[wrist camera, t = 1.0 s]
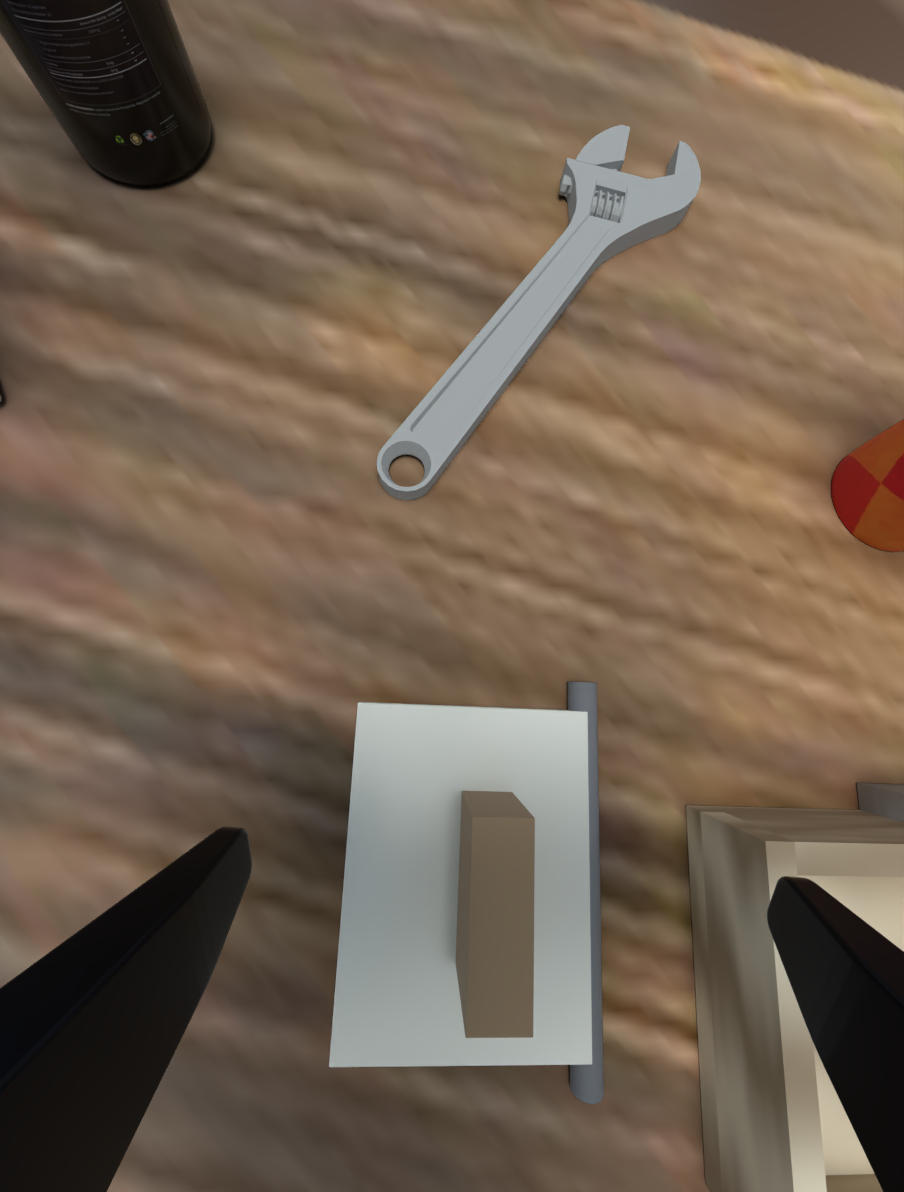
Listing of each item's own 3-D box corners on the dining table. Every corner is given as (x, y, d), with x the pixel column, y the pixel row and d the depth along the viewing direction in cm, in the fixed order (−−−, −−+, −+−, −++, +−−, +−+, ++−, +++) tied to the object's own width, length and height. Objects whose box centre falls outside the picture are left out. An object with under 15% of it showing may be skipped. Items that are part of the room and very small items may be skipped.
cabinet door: (363, 672, 20) (346, 669, 15) (590, 682, 20) (642, 682, 16) (332, 1078, 17) (299, 1231, 12) (596, 1075, 18) (661, 1218, 13)
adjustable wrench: (413, 518, 21) (412, 503, 20) (310, 433, 22) (301, 412, 20) (700, 201, 26) (720, 167, 24) (611, 137, 26) (624, 98, 25)
